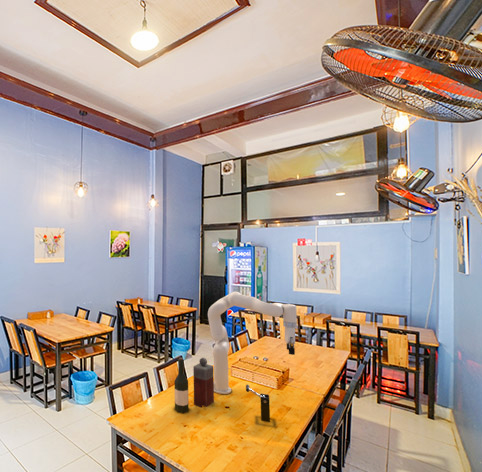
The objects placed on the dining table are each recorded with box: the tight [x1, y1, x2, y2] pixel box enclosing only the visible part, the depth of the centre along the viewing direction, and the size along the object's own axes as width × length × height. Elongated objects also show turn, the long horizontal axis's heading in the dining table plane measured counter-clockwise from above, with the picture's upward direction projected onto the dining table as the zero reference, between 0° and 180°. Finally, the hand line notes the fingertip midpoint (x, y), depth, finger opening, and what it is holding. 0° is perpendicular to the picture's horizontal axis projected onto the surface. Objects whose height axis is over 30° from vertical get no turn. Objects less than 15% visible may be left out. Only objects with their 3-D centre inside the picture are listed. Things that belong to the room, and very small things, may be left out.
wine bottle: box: [174, 357, 190, 414], centre depth 186 cm, size 8×8×30 cm
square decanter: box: [192, 357, 215, 408], centre depth 193 cm, size 9×11×28 cm
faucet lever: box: [245, 384, 266, 398], centre depth 174 cm, size 12×6×2 cm, turn 69°
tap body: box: [259, 393, 271, 423], centre depth 172 cm, size 9×8×14 cm
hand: (290, 352), depth 195 cm, fingers open, 9 cm apart
